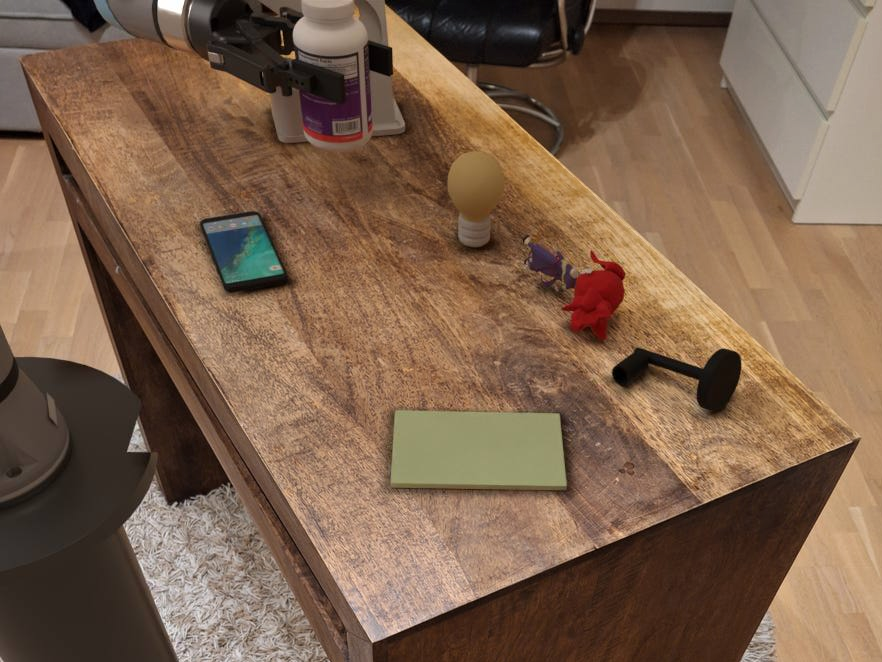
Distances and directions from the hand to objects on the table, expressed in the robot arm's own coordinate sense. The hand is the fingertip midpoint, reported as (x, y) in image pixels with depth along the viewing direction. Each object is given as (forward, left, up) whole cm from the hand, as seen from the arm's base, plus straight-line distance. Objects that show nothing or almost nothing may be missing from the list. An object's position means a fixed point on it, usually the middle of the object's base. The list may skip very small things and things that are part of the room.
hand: (367, 75), depth 98 cm
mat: (+12, -43, -15) cm, 47 cm away
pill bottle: (-4, +2, -8) cm, 9 cm away
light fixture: (+30, -35, -15) cm, 49 cm away
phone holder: (-6, +21, -15) cm, 27 cm away
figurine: (+22, -20, -15) cm, 33 cm away
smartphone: (-14, -11, -15) cm, 23 cm away
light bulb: (+12, -7, -15) cm, 20 cm away
